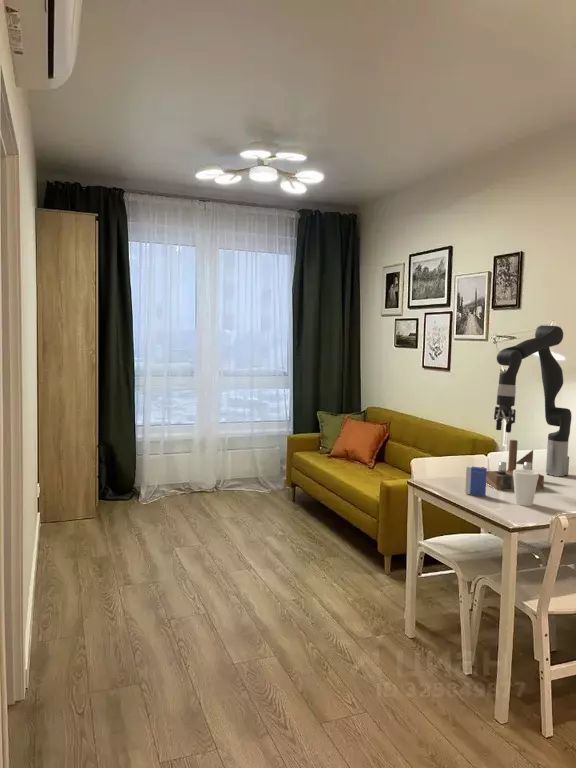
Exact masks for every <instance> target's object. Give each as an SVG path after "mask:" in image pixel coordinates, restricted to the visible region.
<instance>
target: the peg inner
mask: <svg viewBox="0 0 576 768" xmlns="http://www.w3.org/2000/svg"><path fill="white" fill-rule="evenodd" d="M524 469H525V470H532V471H533V463H531V462H524Z"/></svg>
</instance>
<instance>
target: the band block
mask: <svg viewBox="0 0 576 768" xmlns="http://www.w3.org/2000/svg"><path fill="white" fill-rule="evenodd" d="M544 481H545V476H544V475H543V474H540V473H539V478H538V481H537V486H536V489H543V490H544V487H545V486H544V485H545V484H544ZM486 483H487V484H489V485H491V486H492V487H494V488H495V489H514V478H513V471H507V470H506V475H500V474H498V470H487V475H486ZM492 487H491V488H492ZM494 488H493V489H494ZM495 489H494V490H495Z"/></svg>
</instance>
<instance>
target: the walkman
mask: <svg viewBox="0 0 576 768" xmlns="http://www.w3.org/2000/svg"><path fill="white" fill-rule="evenodd" d="M465 471H466V472H465V473H466V474H465V475H466V476H465V489H464V490H465V493H466V494H465V495H468V494H473V495H472V496H475V495H479V496H478V497H483V496H485V497H486V496H487V495H486V493H487V491H486V490H487V485H486V475H487V471H488V468H487V467H485V466H480V467H479V466H471V465H468V466H466V470H465Z"/></svg>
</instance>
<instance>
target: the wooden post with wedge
mask: <svg viewBox="0 0 576 768" xmlns="http://www.w3.org/2000/svg"><path fill="white" fill-rule="evenodd" d="M517 455H518V440H516V439H509V446H508V466H507V467H508V468H507V469H506V471H513V470H516V469H517V465H522V466H523V467H522V469H524V462H531V463H532V464H534V463H533V461H534V460H533V459H534V449H532V450H530V451H529V452H528V453H527V454H525V455H524V456H523V457H522V458H520V459H519V460H518V461H517V459H518V456H517Z"/></svg>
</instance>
